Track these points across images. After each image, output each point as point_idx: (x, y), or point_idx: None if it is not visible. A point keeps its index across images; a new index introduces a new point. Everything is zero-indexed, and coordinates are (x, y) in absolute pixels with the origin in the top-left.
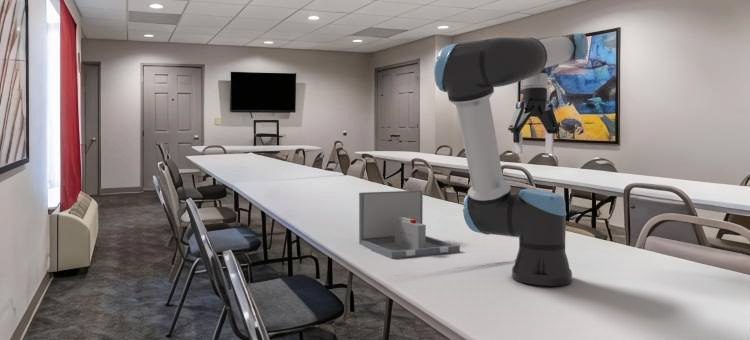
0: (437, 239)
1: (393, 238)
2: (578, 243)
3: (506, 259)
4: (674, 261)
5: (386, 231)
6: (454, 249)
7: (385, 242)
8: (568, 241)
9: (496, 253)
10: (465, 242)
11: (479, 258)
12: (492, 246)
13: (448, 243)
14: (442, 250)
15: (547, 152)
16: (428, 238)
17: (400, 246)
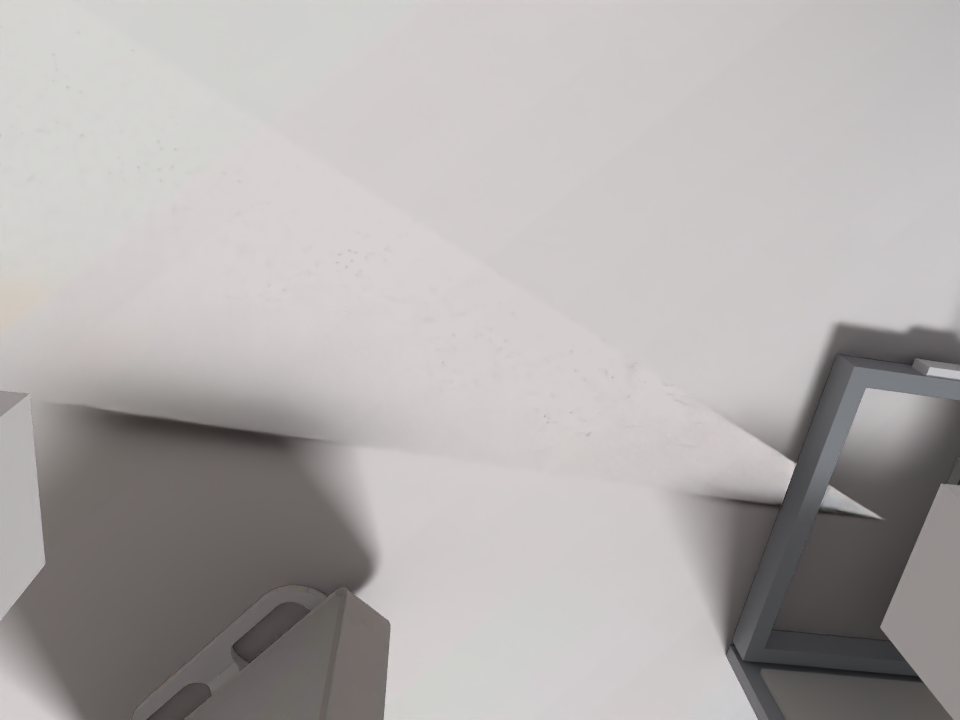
0: (789, 545)
1: None
2: (41, 139)
3: (833, 70)
4: None
5: None
6: (874, 364)
7: None
8: (46, 224)
9: (731, 218)
10: (602, 515)
11: (910, 177)
12: (582, 366)
13: (844, 438)
14: (954, 366)
15: (30, 521)
16: (783, 595)
17: None
